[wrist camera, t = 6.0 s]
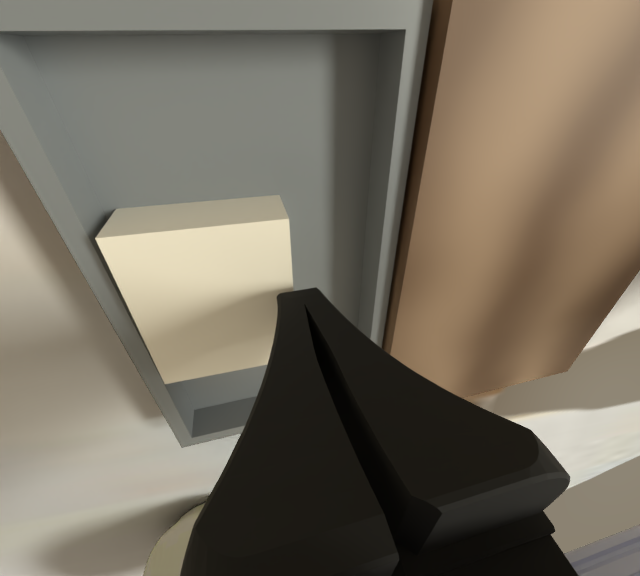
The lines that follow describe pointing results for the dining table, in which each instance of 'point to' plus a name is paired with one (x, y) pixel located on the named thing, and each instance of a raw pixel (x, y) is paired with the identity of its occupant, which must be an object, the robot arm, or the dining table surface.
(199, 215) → the tile
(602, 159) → the board
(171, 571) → the teacup
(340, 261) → the tray
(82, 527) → the dining table surface
